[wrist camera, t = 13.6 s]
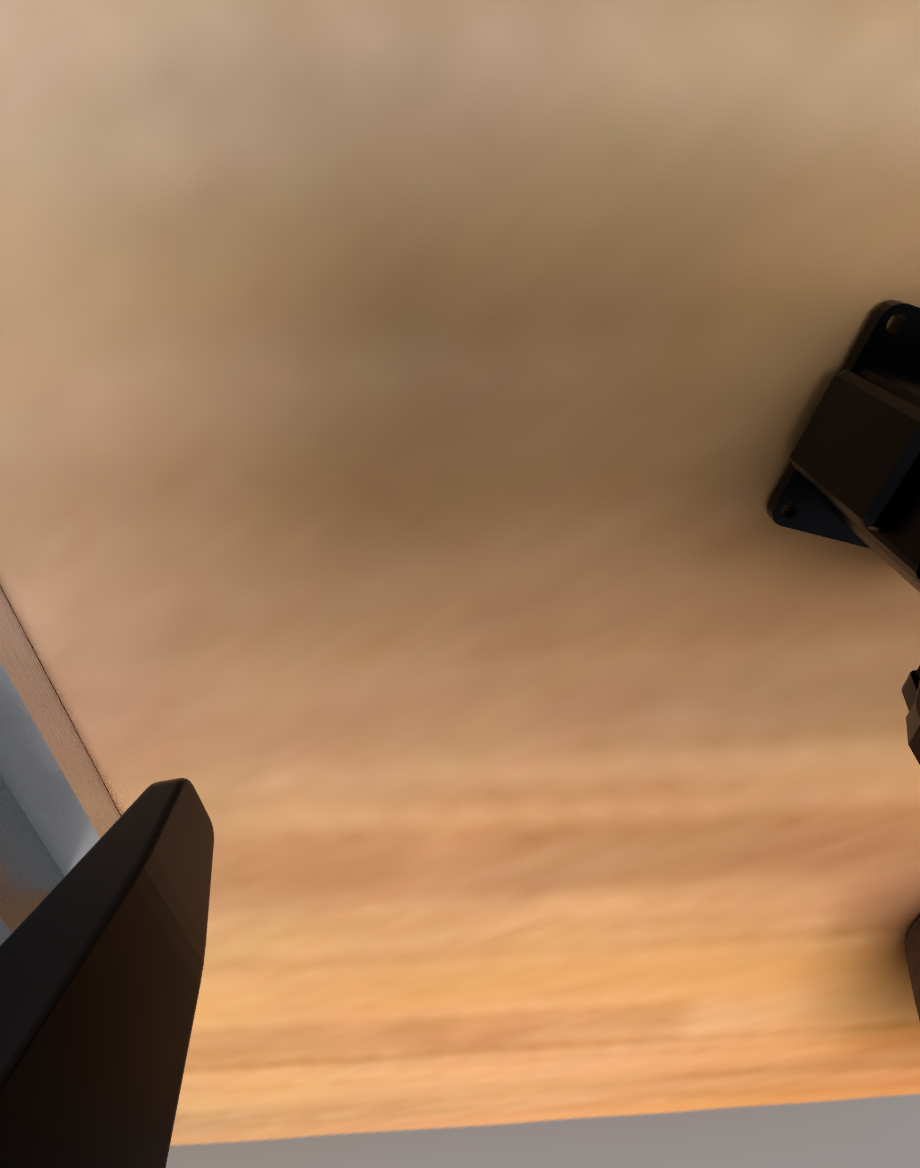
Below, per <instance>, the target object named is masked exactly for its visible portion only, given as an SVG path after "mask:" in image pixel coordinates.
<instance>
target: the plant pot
mask: <svg viewBox="0 0 920 1168" xmlns="http://www.w3.org/2000/svg"><path fill="white" fill-rule="evenodd" d="M905 952H906V958H907V963H908V968H909V973H910V978H911V983H912V988H913V993H914V998H915V1003H916V1007H917V1012H918V1016H919V1020H920V917H919V918H918V919H917V920H916V922H915V923H914V924H913V926H912V927H911V929H910V930H909V933H908V935H907V938H906V941H905Z"/></svg>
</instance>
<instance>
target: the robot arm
mask: <svg viewBox="0 0 920 1168" xmlns="http://www.w3.org/2000/svg"><path fill="white" fill-rule="evenodd" d="M895 314H897V316H898V319H897V322H896V324H895V325H894V326H893V327H892V328H890V329H888V330H887V329H886V325H887V322H888V320H889V319H890V318H891V316H893V315H895ZM789 503H792V505H791V508H790V509H789V510H788V511H786V512H784V513H781V509H782V508H783V507H784V506H785V505H787V504H789ZM767 513H768V515H769V516H770V517H771V518H772V520H773V521H774V522H775V523H777V524H778V525H780V526H784V527H788V528H792V529H796V530H800V531H804V532H808V533H812V534H816V535H820V536H823V537H827V538H831V539H835V540H839V541H843V542H847V543H851V544H855V545H859V546H863V547H867V548H871V549H872V550H874V551H875V552H876V553H877V554H878V555H879V556H880V557H881V558H882V559H883V560H885V561H886V562H887V563H888V564H889V565H890V566H891V567H892V568H893V569H895V570H896V571H897V572H898V573H899V574H900V575H901V576H902V577H903V578H904V579H906V580H907V581H908V582H909V583H910V584H911V585H912V586H913V587H914V588H916V589H917V590H918V591H919V592H920V308H919V307H916V306H913V305H910V304H907V303H904V302H901V301H895V300H891V301H888V302H885V303H883V304H881V305H880V306H879V307H877V308H876V310H875V311H874V312H873V313H872V315H871V317H870V318H869V320H868V322H867V324H866V326H865V327H864V329H863V331H862V333H861V335H860V337H859V338H858V340H857V342H856V344H855V346H854V347H853V349H852V351H851V353H850V355H849V356H848V358H847V360H846V362H845V364H844V366H843V367H842V369H841V371H840V373H839V374H837V375H836V376H835V377H834V378H833V380H832V382H831V383H830V385H829V387H828V389H827V391H826V393H825V394H824V396H823V398H822V400H821V402H820V403H819V405H818V407H817V409H816V411H815V413H814V414H813V416H812V418H811V420H810V422H809V423H808V425H807V427H806V429H805V431H804V433H803V434H802V436H801V438H800V440H799V442H798V444H797V445H796V447H795V449H794V451H793V453H792V454H791V462H790V464H789V465H788V467H787V469H786V471H785V473H784V474H783V476H782V478H781V480H780V482H779V484H778V485H777V487H776V489H775V491H774V493H773V494H772V496H771V498H770V500H769V502H768V505H767ZM902 693H903V696H904V699H905V701H906V704H907V707H908V710H909V713H908V715H907V717H906V723H907V735H908V745H909V747H910V748H911V750H912V752H913V754H914V755H915V757H916V759H917V761H918V763H919V764H920V666H919V668H918V669H917V670H914V671H911V672H910V674H909V676H908V678H907V680H906V681H905V683H904V685H903V687H902ZM213 847H214V832H213V826H212V822H211V820H210V818H209V816H208V814H207V812H206V810H205V808H204V806H203V804H202V802H201V800H200V798H199V796H198V794H197V792H196V790H195V788H194V786H193V785H192V783H191V782H190V781H189V780H188V779H185V778H178V779H172V780H167V781H161V782H156V783H154V784H152V785H150V786H149V787H148V788H147V789H146V790H145V791H144V792H143V793H142V794H141V795H140V796H139V797H138V799H137V800H136V801H135V802H134V803H133V804H132V805H131V806H130V807H129V808H128V809H127V810H126V811H125V812H124V814H123V815H122V816H121V817H120V818H119V819H118V820H117V821H116V822H115V823H114V824H113V825H112V826H111V827H110V829H109V830H108V831H107V832H106V833H105V834H104V835H103V836H102V837H101V838H100V839H99V840H98V841H97V843H96V844H95V845H94V846H93V847H92V848H91V849H90V850H89V851H88V852H87V853H86V854H85V855H84V856H83V858H82V859H81V860H80V861H79V862H78V863H77V864H76V865H75V866H74V867H73V868H72V869H71V870H70V871H69V873H68V874H67V875H66V876H65V877H64V878H63V879H62V880H61V881H60V882H59V883H58V884H57V885H56V886H55V888H54V889H53V890H52V891H51V892H50V893H49V894H48V895H47V896H46V897H45V898H44V899H43V900H42V901H41V903H40V904H39V905H38V906H37V907H36V908H35V909H34V910H33V911H32V912H31V913H30V914H29V915H28V916H27V918H26V919H25V920H24V921H23V922H22V923H21V924H20V925H19V926H18V927H17V928H16V929H15V930H14V932H13V933H12V934H11V935H10V936H9V937H8V938H7V939H6V940H5V941H4V942H3V943H2V944H1V945H0V1168H166V1162H167V1157H168V1152H169V1147H170V1141H171V1136H172V1131H173V1126H174V1120H175V1115H176V1110H177V1104H178V1099H179V1094H180V1089H181V1083H182V1078H183V1073H184V1068H185V1062H186V1057H187V1052H188V1047H189V1041H190V1036H191V1031H192V1025H193V1020H194V1015H195V1010H196V1004H197V999H198V994H199V989H200V983H201V977H202V971H203V965H204V956H205V946H206V935H207V922H208V910H209V897H210V884H211V872H212V859H213Z"/></svg>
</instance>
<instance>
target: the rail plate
mask: <svg viewBox="0 0 920 1168" xmlns="http://www.w3.org/2000/svg"><path fill="white" fill-rule="evenodd" d="M120 817H121V816H120V814H119V812H118V811H117V809H116V807H115V805H114V803H113V801H112V799H111V797H110V795H109V793H108V791H107V790H106V788H105V786H104V784H103V782H102V780H101V778H100V776H99V774H98V772H97V771H96V769H95V767H94V765H93V763H92V761H91V759H90V757H89V755H88V753H87V752H86V750H85V748H84V746H83V744H82V742H81V740H80V738H79V736H78V734H77V733H76V731H75V729H74V727H73V725H72V723H71V721H70V719H69V717H68V715H67V713H66V712H65V710H64V708H63V706H62V704H61V702H60V700H59V698H58V696H57V694H56V693H55V691H54V689H53V687H52V685H51V683H50V681H49V679H48V677H47V675H46V674H45V672H44V670H43V668H42V666H41V664H40V662H39V660H38V658H37V656H36V654H35V653H34V651H33V649H32V647H31V645H30V643H29V641H28V639H27V637H26V635H25V634H24V632H23V630H22V628H21V626H20V624H19V622H18V620H17V618H16V616H15V615H14V613H13V611H12V609H11V607H10V605H9V603H8V601H7V599H6V597H5V595H4V594H3V592H2V590H1V588H0V945H1V944H2V943H3V942H4V941H5V940H6V939H7V938H8V937H9V936H10V935H11V934H12V933H13V932H14V930H15V929H16V928H17V927H18V926H19V925H20V924H21V923H22V922H23V921H24V920H25V919H26V918H27V916H28V915H29V914H30V913H31V912H32V911H33V910H34V909H35V908H36V907H37V906H38V905H39V904H40V903H41V901H42V900H43V899H44V898H45V897H46V896H47V895H48V894H49V893H50V892H51V891H52V890H53V889H54V888H55V886H56V885H57V884H58V883H59V882H60V881H61V880H62V879H63V878H64V877H65V876H66V875H67V874H68V873H69V871H70V870H71V869H72V868H73V867H74V866H75V865H76V864H77V863H78V862H79V861H80V860H81V859H82V858H83V856H84V855H85V854H86V853H87V852H88V851H89V850H90V849H91V848H92V847H93V846H94V845H95V844H96V843H97V841H98V840H99V839H100V838H101V837H102V836H103V835H104V834H105V833H106V832H107V831H108V830H109V829H110V827H111V826H112V825H113V824H114V823H115V822H116V821H117V820H118V819H119V818H120Z"/></svg>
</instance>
